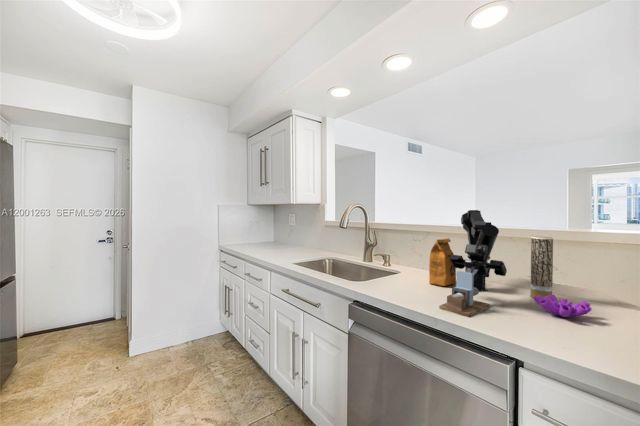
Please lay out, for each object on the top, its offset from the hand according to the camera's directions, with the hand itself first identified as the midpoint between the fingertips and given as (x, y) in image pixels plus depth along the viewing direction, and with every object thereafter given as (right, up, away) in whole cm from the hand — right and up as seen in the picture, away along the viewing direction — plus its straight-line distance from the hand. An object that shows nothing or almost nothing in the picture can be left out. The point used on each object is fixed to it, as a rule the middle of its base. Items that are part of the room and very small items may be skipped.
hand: (469, 282), depth 101 cm
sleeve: (-4, -7, -3) cm, 8 cm away
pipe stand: (-3, -8, -3) cm, 9 cm away
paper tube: (+33, -9, +8) cm, 35 cm away
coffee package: (+3, -9, +30) cm, 31 cm away
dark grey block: (-6, -7, -5) cm, 10 cm away
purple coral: (+25, -9, -10) cm, 28 cm away
